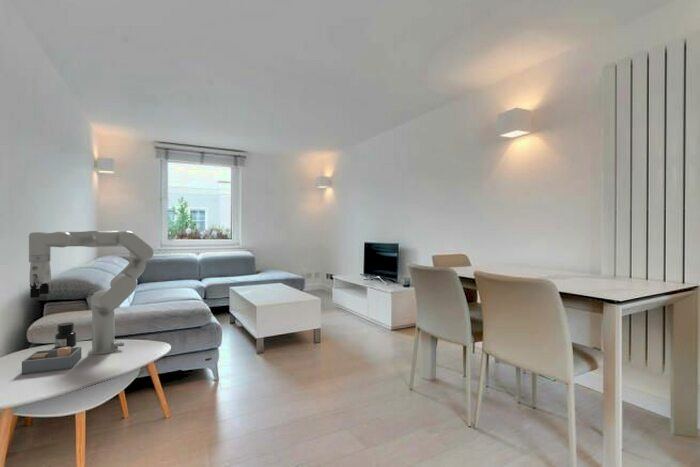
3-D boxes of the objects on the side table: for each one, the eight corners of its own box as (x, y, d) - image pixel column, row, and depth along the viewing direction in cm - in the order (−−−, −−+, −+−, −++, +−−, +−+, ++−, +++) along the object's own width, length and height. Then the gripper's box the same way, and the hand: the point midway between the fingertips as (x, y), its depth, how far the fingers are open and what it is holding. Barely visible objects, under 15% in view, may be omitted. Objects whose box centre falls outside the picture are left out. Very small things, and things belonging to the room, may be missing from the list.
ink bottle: (51, 347, 188) (51, 324, 188) (70, 342, 196) (70, 321, 196) (60, 350, 184) (60, 327, 183) (79, 345, 191) (79, 323, 191)
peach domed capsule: (72, 360, 167) (72, 346, 167) (68, 364, 162) (68, 349, 162) (59, 362, 165) (59, 347, 165) (55, 365, 160) (55, 350, 160)
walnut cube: (35, 364, 161) (35, 354, 161) (49, 363, 163) (49, 352, 163) (30, 368, 157) (30, 357, 157) (44, 367, 159) (44, 356, 159)
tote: (81, 358, 172) (81, 346, 172) (71, 368, 159) (71, 356, 159) (36, 362, 165) (36, 351, 165) (21, 374, 152) (21, 361, 152)
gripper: (41, 260, 156) (41, 298, 156) (57, 257, 172) (57, 292, 172) (20, 260, 153) (20, 299, 153) (37, 257, 169) (37, 293, 169)
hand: (39, 295), depth 162 cm, fingers open, 9 cm apart
